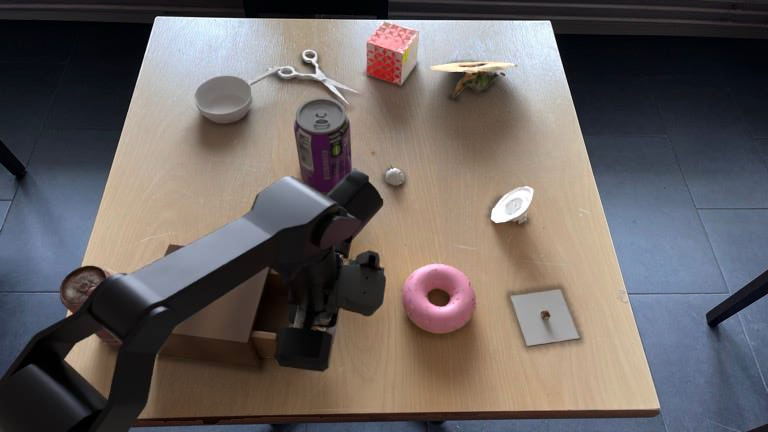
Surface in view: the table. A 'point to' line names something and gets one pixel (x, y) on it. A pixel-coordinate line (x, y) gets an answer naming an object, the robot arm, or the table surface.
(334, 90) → the scissors
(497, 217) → the white footed dish
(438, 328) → the doughnut
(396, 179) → the white rounded lump
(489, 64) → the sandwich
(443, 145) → the table surface
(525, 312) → the grey square plate
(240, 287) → the cabinet
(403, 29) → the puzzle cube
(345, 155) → the beverage can
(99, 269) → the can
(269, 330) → the drawer
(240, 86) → the saucepan
